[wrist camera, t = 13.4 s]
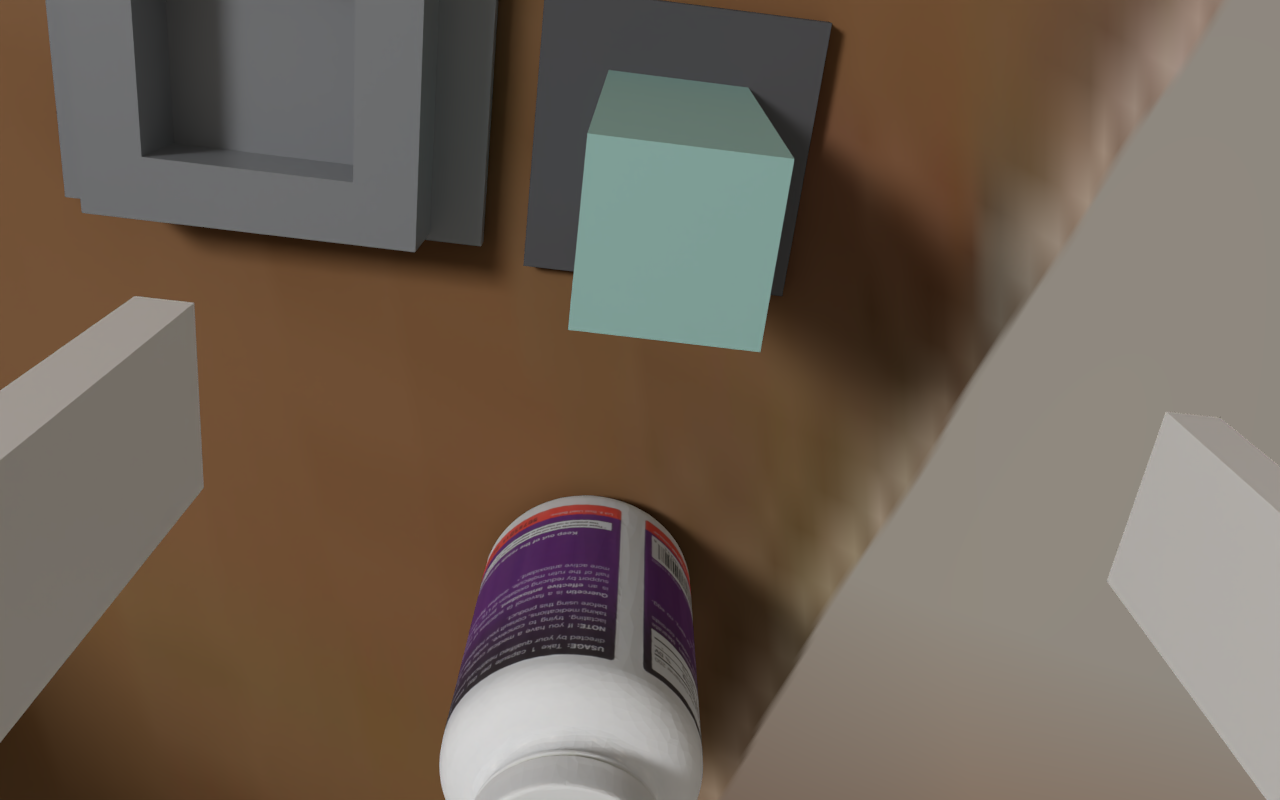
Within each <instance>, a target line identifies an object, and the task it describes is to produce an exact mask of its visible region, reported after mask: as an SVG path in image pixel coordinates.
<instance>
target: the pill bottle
mask: <svg viewBox="0 0 1280 800" xmlns="http://www.w3.org/2000/svg"><path fill="white" fill-rule="evenodd" d="M439 766H440V778H441V785H442V789H443V793H444V796H445V799H446V800H697V798H698V795H699V792H700V788H701V782H702V776H703V753H702V741H701V729H700V715H699V702H698V688H697V674H696V660H695V646H694V632H693V618H692V604H691V588H690V578H689V573H688V568H687V565H686V561H685V559H684V556H683V554H682V552H681V550H680V548H679V546H678V544H677V543H676V541H675V540H674V538H673V537H672V536H671V534H670V533H669V532H668V531H667V530H666V529H665V528H664V527H663V526H662V525H661V524H660V523H659V522H658V521H657V520H655V519H654V518H653V517H652V516H650V515H649V514H647V513H646V512H644V511H642V510H641V509H639V508H637V507H635V506H633V505H630V504H628V503H625V502H622V501H619V500H616V499H612V498H607V497H601V496H590V495H583V496H570V497H563V498H559V499H555V500H552V501H549V502H546V503H543V504H541V505H538V506H536V507H534V508H532V509H530V510H528V511H527V512H526V513H524V514H523V515H521V516H520V517H518V518H517V519H516V520H515V521H514V522H512V523H511V524H510V525H509V526H508V527H507V528H506V530H505V531H504V532H503V533H502V534H501V536H500V537H499V538H498V540H497V541H496V543H495V545H494V547H493V549H492V551H491V553H490V555H489V558H488V561H487V564H486V568H485V571H484V574H483V578H482V583H481V588H480V592H479V596H478V599H477V603H476V607H475V611H474V616H473V620H472V624H471V628H470V632H469V636H468V640H467V644H466V648H465V652H464V656H463V660H462V664H461V668H460V672H459V676H458V680H457V684H456V688H455V692H454V696H453V700H452V704H451V707H450V711H449V715H448V719H447V723H446V727H445V731H444V736H443V741H442V746H441V752H440V763H439Z"/></svg>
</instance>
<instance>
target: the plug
mask: <svg viewBox="0 0 1280 800" xmlns="http://www.w3.org/2000/svg"><path fill="white" fill-rule="evenodd" d="M793 165H794V157H793V156H792V154H791V153H790V151H789V150H788V148H787V147H786V145H785V144H784V142H783V140H782V139H781V137H780V136H779V134H778V133H777V131H776V130H775V128H774V127H773V125H772V123H771V122H770V120H769V119H768V117H767V116H766V114H765V113H764V111H763V110H762V108H761V106H760V105H759V103H758V102H757V100H756V99H755V97H754V96H753V94H752V92H751V91H750V89H749V88H748V87H740V86H732V85H724V84H716V83H708V82H700V81H692V80H684V79H676V78H669V77H661V76H653V75H645V74H637V73H629V72H621V71H613V70H609V71H608V74H607V77H606V80H605V83H604V86H603V89H602V91H601V94H600V97H599V100H598V103H597V106H596V109H595V112H594V115H593V118H592V121H591V124H590V127H589V130H588V133H587V142H586V153H585V163H584V173H583V183H582V193H581V204H580V214H579V224H578V234H577V244H576V255H575V265H574V275H573V285H572V295H571V305H570V316H569V326H568V330H575V331H584V332H592V333H601V334H609V335H618V336H627V337H635V338H644V339H652V340H661V341H670V342H678V343H687V344H695V345H704V346H712V347H721V348H730V349H738V350H747V351H755V352H760V351H761V345H762V339H763V334H764V328H765V322H766V317H767V311H768V305H769V300H770V294H771V289H772V283H773V277H774V272H775V266H776V260H777V255H778V249H779V244H780V238H781V232H782V227H783V221H784V215H785V210H786V204H787V198H788V193H789V187H790V182H791V176H792V170H793Z"/></svg>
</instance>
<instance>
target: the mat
mask: <svg viewBox="0 0 1280 800" xmlns="http://www.w3.org/2000/svg"><path fill="white" fill-rule="evenodd" d="M831 26H832V23H830V22H824V21H817V20H809V19H801V18H793V17H786V16H778V15H770V14H762V13H755V12H747V11H739V10H731V9H724V8H716V7H708V6H700V5H693V4H685V3H677V2H669V1H661V0H544V11H543V24H542V37H541V49H540V62H539V75H538V88H537V101H536V113H535V126H534V139H533V152H532V165H531V177H530V190H529V203H528V216H527V229H526V241H525V254H524V266H531V267H540V268H548V269H556V270H565V271H573V272H574V265H575V255H576V244H577V234H578V224H579V214H580V204H581V193H582V183H583V173H584V163H585V153H586V142H587V133H588V130H589V127H590V124H591V121H592V118H593V115H594V112H595V109H596V106H597V103H598V100H599V97H600V94H601V91H602V89H603V86H604V83H605V80H606V77H607V74H608V71H609V70H613V71H621V72H629V73H637V74H645V75H653V76H661V77H669V78H676V79H684V80H692V81H700V82H708V83H716V84H724V85H732V86H740V87H748V88H749V89H750V91H751V92H752V94H753V96H754V97H755V99H756V100H757V102H758V103H759V105H760V106H761V108H762V110H763V111H764V113H765V114H766V116H767V117H768V119H769V120H770V122H771V123H772V125H773V127H774V128H775V130H776V131H777V133H778V134H779V136H780V137H781V139H782V140H783V142H784V144H785V145H786V147H787V148H788V150H789V151H790V153H791V154H792V156H793V157H794V165H793V170H792V176H791V182H790V187H789V193H788V198H787V204H786V210H785V215H784V221H783V227H782V232H781V238H780V244H779V249H778V255H777V260H776V266H775V272H774V277H773V283H772V289H771V294H770V295H776V296H782V295H783V289H784V284H785V278H786V273H787V267H788V262H789V256H790V251H791V245H792V240H793V234H794V229H795V223H796V218H797V212H798V207H799V201H800V196H801V191H802V185H803V180H804V174H805V169H806V163H807V158H808V152H809V147H810V141H811V136H812V130H813V125H814V119H815V114H816V108H817V103H818V97H819V92H820V86H821V81H822V75H823V70H824V64H825V59H826V53H827V48H828V42H829V37H830V31H831Z"/></svg>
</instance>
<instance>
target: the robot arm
mask: <svg viewBox="0 0 1280 800" xmlns="http://www.w3.org/2000/svg"><path fill="white" fill-rule="evenodd" d="M203 488H204V485H203V466H202V446H201V427H200V407H199V388H198V368H197V349H196V329H195V310H194V303H192V302H183V301H174V300H165V299H156V298H147V297H138V296H134V297H133V298H131V299H130V300H128V301H127V302H126V303H124V304H123V305H121V306H120V307H118V308H117V309H116V310H114V311H113V312H111V313H110V314H109V315H107V316H106V317H104V318H103V319H101V320H100V321H99V322H97V323H96V324H94V325H93V326H91V327H90V328H89V329H87V330H86V331H84V332H83V333H81V334H80V335H79V336H77V337H76V338H74V339H73V340H72V341H70V342H69V343H67V344H66V345H64V346H63V347H62V348H60V349H59V350H57V351H56V352H54V353H53V354H52V355H50V356H49V357H47V358H46V359H44V360H43V361H42V362H40V363H39V364H37V365H36V366H35V367H33V368H32V369H30V370H29V371H27V372H26V373H25V374H23V375H22V376H20V377H19V378H17V379H16V380H15V381H13V382H12V383H10V384H9V385H7V386H6V387H5V388H3V389H2V390H0V742H1V741H2V740H3V739H4V737H5V736H6V735H7V734H8V732H9V731H10V730H11V729H12V727H13V726H14V725H15V724H16V722H17V721H18V720H19V719H20V717H21V716H22V715H23V714H24V712H25V711H26V710H27V709H28V707H29V706H30V705H31V703H32V702H33V701H34V700H35V698H36V697H37V696H38V695H39V693H40V692H41V691H42V690H43V688H44V687H45V686H46V685H47V683H48V682H49V681H50V680H51V678H52V677H53V676H54V675H55V673H56V672H57V671H58V670H59V668H60V667H61V666H62V665H63V663H64V662H65V661H66V660H67V658H68V657H69V656H70V655H71V653H72V652H73V651H74V650H75V648H76V647H77V646H78V645H79V643H80V642H81V641H82V640H83V638H84V637H85V636H86V635H87V633H88V632H89V631H90V630H91V628H92V627H93V626H94V625H95V623H96V622H97V621H98V619H99V618H100V617H101V616H102V614H103V613H104V612H105V611H106V609H107V608H108V607H109V606H110V604H111V603H112V602H113V601H114V599H115V598H116V597H117V596H118V594H119V593H120V592H121V591H122V589H123V588H124V587H125V586H126V584H127V583H128V582H129V581H130V579H131V578H132V577H133V576H134V574H135V573H136V572H137V571H138V569H139V568H140V567H141V566H142V564H143V563H144V562H145V561H146V559H147V558H148V557H149V556H150V554H151V553H152V552H153V551H154V549H155V548H156V547H157V546H158V544H159V543H160V542H161V541H162V539H163V538H164V537H165V536H166V534H167V533H168V532H169V530H170V529H171V528H172V527H173V525H174V524H175V523H176V522H177V520H178V519H179V518H180V517H181V515H182V514H183V513H184V512H185V510H186V509H187V508H188V507H189V505H190V504H191V503H192V502H193V500H194V499H195V498H196V497H197V495H198V494H199V493H200V492H201V490H202V489H203ZM1107 582H1108V584H1109V585H1110V586H1111V588H1112V589H1113V590H1114V592H1115V593H1116V594H1117V596H1118V597H1119V599H1120V600H1121V601H1122V603H1123V604H1124V605H1125V607H1126V608H1127V610H1128V611H1129V612H1130V614H1131V615H1132V616H1133V618H1134V619H1135V621H1136V622H1137V623H1138V625H1139V626H1140V627H1141V629H1142V630H1143V632H1144V633H1145V634H1146V636H1147V637H1148V638H1149V640H1150V641H1151V642H1152V644H1153V645H1154V647H1155V648H1156V649H1157V651H1158V652H1159V653H1160V655H1161V656H1162V657H1163V659H1164V660H1165V662H1166V663H1167V664H1168V666H1169V667H1170V668H1171V670H1172V671H1173V672H1174V674H1175V675H1176V677H1177V678H1178V679H1179V681H1180V682H1181V683H1182V685H1183V686H1184V687H1185V689H1186V690H1187V692H1188V693H1189V694H1190V696H1191V697H1192V699H1193V700H1194V701H1195V702H1196V704H1197V705H1198V707H1199V708H1200V709H1201V711H1202V712H1203V713H1204V715H1205V716H1206V718H1207V719H1208V720H1209V722H1210V723H1211V724H1212V726H1213V727H1214V729H1215V730H1216V731H1217V732H1218V734H1219V735H1220V737H1221V738H1222V739H1223V741H1224V742H1225V744H1226V745H1227V746H1228V748H1229V749H1230V750H1231V752H1232V753H1233V754H1234V756H1235V757H1236V759H1237V760H1238V761H1239V763H1240V764H1241V766H1242V767H1243V768H1244V769H1245V771H1246V772H1247V774H1248V775H1249V776H1250V778H1251V779H1252V780H1253V782H1254V783H1255V785H1256V786H1257V787H1258V789H1259V790H1260V791H1261V793H1262V794H1263V796H1264V797H1265V798H1266V800H1280V466H1279V465H1277V464H1276V463H1275V462H1274V461H1272V460H1271V459H1270V458H1269V457H1268V456H1266V455H1265V454H1264V453H1263V452H1261V451H1260V450H1259V449H1258V448H1257V447H1256V446H1254V445H1253V444H1252V443H1251V442H1249V441H1248V440H1247V439H1246V438H1245V437H1243V436H1242V435H1241V434H1240V433H1238V432H1237V431H1236V430H1234V429H1233V428H1232V427H1231V426H1230V425H1229V424H1227V423H1226V422H1225V421H1224V420H1223V419H1221V418H1220V417H1211V416H1202V415H1192V414H1184V413H1175V412H1166V413H1165V416H1164V419H1163V422H1162V424H1161V428H1160V430H1159V433H1158V436H1157V439H1156V442H1155V445H1154V447H1153V450H1152V453H1151V456H1150V459H1149V462H1148V465H1147V467H1146V470H1145V473H1144V476H1143V479H1142V482H1141V484H1140V488H1139V490H1138V493H1137V496H1136V499H1135V502H1134V505H1133V507H1132V510H1131V513H1130V516H1129V519H1128V522H1127V525H1126V527H1125V530H1124V533H1123V536H1122V539H1121V542H1120V545H1119V548H1118V550H1117V553H1116V556H1115V559H1114V562H1113V565H1112V567H1111V570H1110V574H1109V576H1108V579H1107Z"/></svg>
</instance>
